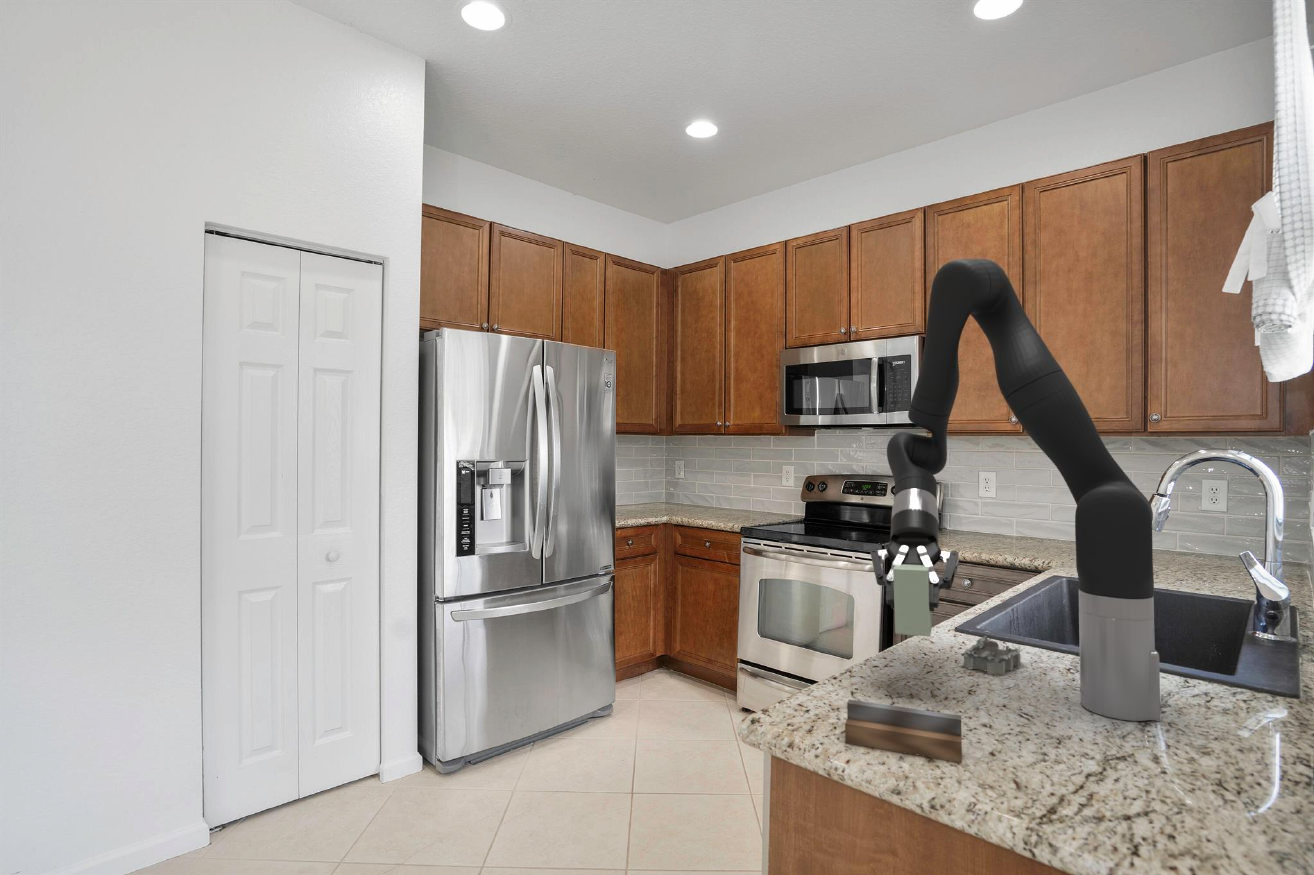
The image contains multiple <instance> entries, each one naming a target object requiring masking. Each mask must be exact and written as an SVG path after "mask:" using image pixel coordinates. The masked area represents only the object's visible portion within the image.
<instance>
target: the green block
mask: <svg viewBox="0 0 1314 875" xmlns="http://www.w3.org/2000/svg"><path fill="white" fill-rule="evenodd" d="M893 580H894V608H895V609H894V608H893V609H894V628H895V629H894V630H895V631H894V632H895V634H897V635H907V636H918V637H919V636H920V637H921V636H922V637H931V634H932V611H930V610H929V584H930V580H929V566H924V565H907V564H902V565H895V567H894V568H893Z"/></svg>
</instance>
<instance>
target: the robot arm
mask: <svg viewBox="0 0 1314 875" xmlns="http://www.w3.org/2000/svg"><path fill="white" fill-rule="evenodd" d="M929 295H930V296H929V305H928V314H927V323H926V330H925V338H924V347H923V352H922V354H923V355H922V358H921V359H922V360H921V364H920V368H919V372H918V377H917V380H916V384H915V387H914V391H913V394H912V398H911V401H910V405H909V408H908V413H907V417H908V419H909V421H910V422H911V423H913V424H914V425H915V426H918V427H921V428H922V429H925V430H927V431H928V432H930V433H931V434H930V436H928V435H922V434H917V433H910V432H906V431H901V432H897V433H895V434H894V435H893V436H892V437H891V438H890V439H889V441H888V442H887V446H886V459H887V462H888V466H889V468H890V471H891V474H892V478H893V481H894V496H893V497H894V499H893V504H892V507H891V510H892V511H891V523H890V538H889V539H890V541H889V543H888V546H887V547H886V549H885V548H884V549H879V550H878V548H876V547H871V548H870V550H869V552H870V556H871V557H870V558H871V563H872V567H873V571H874V576H875V580H876V584H877V585H878V586H885V587H886V588H885V589H886V590H885V592H886V593H885V601H886V604H887V605H890V608H891V609H894V610H895V608H894V580H893V568H894V567H895V565H902V564H907V565H924V566H929V580H930V584H929V610H930V611H931V612H935V609H938V607H939V606H940V591H941V590H942V589H945V590H951V589H952V587H953V584H954V580H955V577H956V575H957V570H958V567H959V564H960V561H959V552H958V551H957V550H951V551H950V552H947V551H943V550H942V549H941V547H940V546H939V524H940V520H939V507H938V499H937V498H938V497H937V496H938V493H937V492H938V489H937V488H938V486H937V480H936V477H935V475H937V474H939V473H940V472H942V471H943V469H944V468H945V467H946V464H947V460H948V459H947V457H948V444H947V443H948V442H947V441H948V440H947V439H948V438H947V437H948V436H947V435H948V426H949V421H950V418H951V417H950V416H951V414H952V410H953V407H954V405H955V404H954V403H955V402H956V397H957V394H958V390H959V384H960V367H959V347H960V346H959V345H960V342H961V341H960V340H961V337H962V335H963V334H962V333H963V331H964V328H965V325H966V323H967V322H968V319H969V317H970V315H971V317H972V318H973V319H974V320H975V322H976V323H977V324H978V326H979V328H980V330H982V332H983V334H984V335H985V337H986V338H987V340H988V343H989V344H990V347H991V351H992V355H993V360H994V368H995V370H994V371H995V376H996V380H997V384H998V388H999V390H1000V393H1001V395H1002V397H1003V398H1004V401H1005V402H1006V405H1008V408H1009V409H1010V410H1011V412H1012V414H1013V415H1014V417H1015V419H1016V420H1017V421H1018V422H1019V424H1020V425H1021V427H1022V428H1023V430H1024V431H1025V432H1026V433H1027V435H1028V436H1029V438H1031V440H1032V441H1033V442H1034V443H1035V444H1036V445H1037V446H1038V448H1039V449H1040V450H1041V451H1042V452H1043V453H1044V454H1045V455H1046V457H1048V459H1049V460H1050V461H1051V462H1052V463H1053V464H1054V466H1055V467H1056V469H1057V470H1058V472H1059V473H1060V475H1061V476H1062V479H1063V480H1064V482H1065V484H1066V485H1067V486H1066V487H1067V488H1068V490H1069V491H1070V493H1071V495H1072V497H1073V499H1074V503H1075V504H1076V509H1075V516H1074V528H1075V529H1074V533H1075V534H1074V536H1075V559H1076V560H1075V565H1076V566H1075V567H1076V573H1077V579H1078V581H1077V582H1078V624H1079V625H1078V626H1079V628H1078V634H1079V635H1078V636H1079V641H1078V642H1079V644H1078V645H1079V693H1080V695H1079V699H1080V705H1081V706H1082V707H1084V708H1085V709H1087V710H1088V711H1090V712H1092V713H1094V714H1099V715H1101V716H1105V717H1108V718H1113V719H1118V720H1124V721H1135V722H1143V721H1144V722H1145V721H1157V722H1159V721H1161V689H1160V688H1161V686H1160V685H1161V684H1160V682H1161V681H1160V680H1161V679H1160V677H1161V676H1160V675H1161V674H1160V654H1159V652H1158V651H1157V650H1156V648H1155V646H1156V643H1155V641H1156V640H1155V639H1156V638H1155V604H1154V602H1155V601H1154V600H1155V599H1154V596H1155V590H1154V588H1155V582H1154V581H1155V578H1154V564H1153V563H1154V560H1153V558H1154V557H1153V555H1154V554H1153V521H1154V516H1153V515H1154V512H1153V509H1152V505H1151V503H1150V501H1149V500H1148V499H1147V497H1146V496H1145V494H1144V493H1143V492H1142V491H1141V490H1139V488H1138V487H1137V486H1136V485H1135V484H1134V482H1133V481H1132V480H1131V479H1130V478H1129V476H1128V475H1127V474H1126V473H1125V472H1124V470H1123V469H1122V468H1121V467H1120V465H1119V464H1118V462H1117V461H1116V460H1115V459H1114V457H1113V455H1111V453H1110V451H1109V450H1108V448H1107V447H1106V446H1105V444H1104V442H1103V440H1102V438H1101V435H1100V433H1099V431H1098V430H1097V426H1096V425H1095V424H1094V421H1093V419H1092V418H1091V415H1090V414H1089V412H1088V409H1087V407H1086V406H1085V404H1084V403H1083V401H1082V399H1081V397H1080V395H1079V393H1078V391H1077V390H1076V389H1075V386H1074V385H1073V383H1072V381H1071V380H1070V379H1069V378H1068V376H1067V374H1066V373H1065V371H1064V370H1063V368H1062V366H1061V365H1060V364H1059V363H1058V361H1057V360H1056V358H1055V357H1054V355H1053V354H1052V352H1051V350H1050V349H1049V347H1048V346H1047V345H1046V343H1045V341H1044V340H1043V338H1042V337H1041V336H1040V334H1039V332H1038V331H1037V330H1036V328H1035V326H1034V325H1033V323H1031V321H1030V318H1028V315H1027V314H1026V312H1025V310H1024V307H1023V305H1022V304H1021V302H1020V298H1018V295H1017V293H1016V292H1015V288H1014V287H1013V285H1012V283H1011V280H1010V278H1009V276H1008V275H1007V274H1006V272H1005V271H1004V269H1003V268H1002V267H1001V266H1000V265H999V264H998V263H997V262H995V261H993V260H991V259H987V258H959V259H954V260H950V261H947V263H944V264H943V265H942V266H941V267H940V268H939V269H938V271H937V272H936V273H935V275H934V279H933V281H932V285H931V289H930V294H929ZM887 558H888V559H889V560H890V561H891V568H890V570H889V572H888V574H887V573H886V574H885V573H883V571H884V570H883V568H882V565H883V564H884V563H885V560H886V559H887ZM940 560H942V561H943V565H944V566H945V568H944V571H943V574H942V576H938V575H937V572H936V571H935V568H934V566H935V565H936V564H938V562H940Z"/></svg>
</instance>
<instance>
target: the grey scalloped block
mask: <svg viewBox="0 0 1314 875" xmlns="http://www.w3.org/2000/svg"><path fill="white" fill-rule="evenodd" d="M1022 651H1023V649H1018V648H1017V647H1014V649H1013V648H1010V646H1009V645H1006V646H1005V649H1004V648H1000V647H999V644H998V641H996V640H992V639H988V635H984V636H981V637H980V638H978V640H976V643H975V644H972V645H971V646H970V647H969V648H967V649H965V651H963V653H961V657H963V659H964V664H963V666H964V665H965V666H964V667H966V666H967V667H966V668H970V669H982V670H981V671H983V670H986V671H987V672H986V671H985V672H986V674H987V673H988V675H991V674H1000V675H999V676H1004V674H1005V675H1006V671H1009V670H1012V671H1013V670H1014V667H1018V666H1019V667H1021V665H1022V663H1021V662H1022V661H1021V654H1020V653H1021V652H1022ZM1013 665H1015V666H1013ZM970 669H969V670H970Z"/></svg>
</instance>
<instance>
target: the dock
mask: <svg viewBox="0 0 1314 875" xmlns="http://www.w3.org/2000/svg"><path fill="white" fill-rule="evenodd" d="M846 704H847V705H846V706H847V708H846V709H847V712H846V713H847V714H846V715H847V716H846V717H847V718H846V720H845V724H844V734H845V736H844V741H845V742H844V743H845V744H851V745H857V746H861V747H868V748H874V749H880V750H885V751H893V752H896V753H902V752H906V753H905V754H908V753H911V754H910V755H914V754H919V755H918V756H920V755H924V756H923V757H925V756H930V757H929V758H931V757H933V758H934V759H937V758H938V760H944V761H948V762H949V761H951V762H955V761H956V763H963V751H962V748H963V745H962V740H963V738H962V734H963V733H962V715H959V714H953V713H945V712H939V711H933V710H924V709H918V708H912V707H906V706H905V707H903V706H898V705H891V704H886V703H885V704H883V703H877V702H870V701H863V700H856V699H850V698H849V699H848V701H847V703H846Z"/></svg>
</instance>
